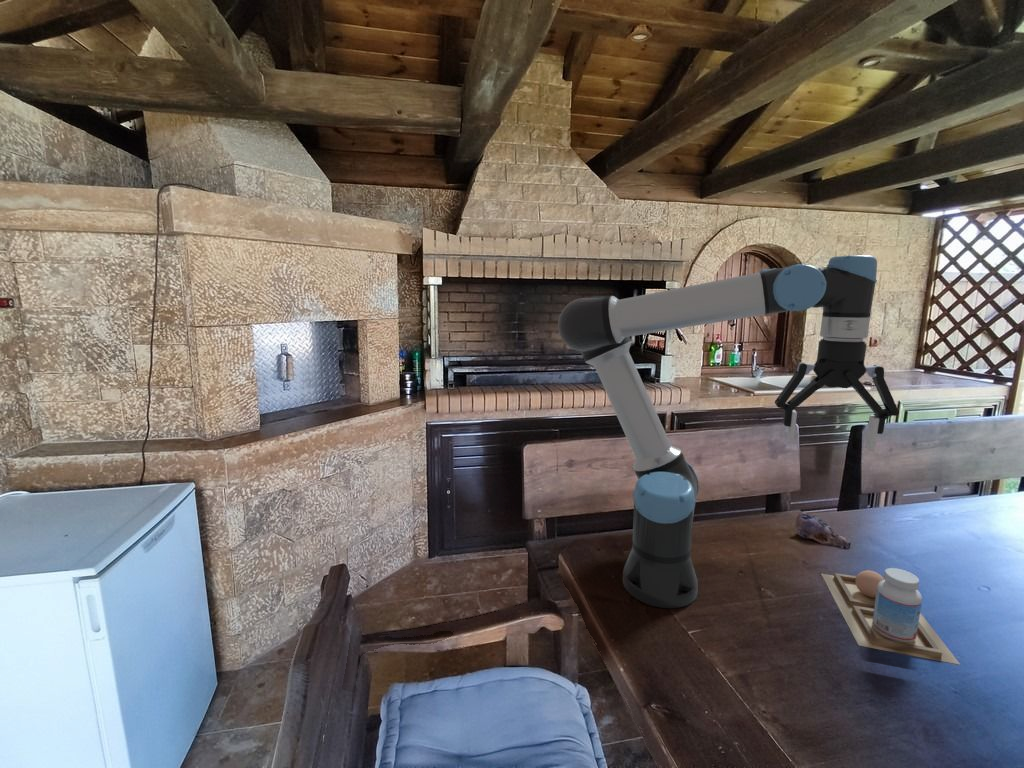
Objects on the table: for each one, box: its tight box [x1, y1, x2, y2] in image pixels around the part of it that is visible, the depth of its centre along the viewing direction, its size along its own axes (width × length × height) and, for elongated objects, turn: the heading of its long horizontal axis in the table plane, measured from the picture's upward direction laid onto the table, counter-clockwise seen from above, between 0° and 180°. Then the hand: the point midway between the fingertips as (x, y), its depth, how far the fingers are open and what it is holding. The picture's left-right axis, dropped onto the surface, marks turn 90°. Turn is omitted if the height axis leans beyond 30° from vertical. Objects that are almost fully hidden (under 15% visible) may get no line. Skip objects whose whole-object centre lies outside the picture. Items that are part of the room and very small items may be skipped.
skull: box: [793, 512, 852, 549], centre depth 115 cm, size 12×8×6 cm, turn 31°
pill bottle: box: [872, 567, 923, 643], centre depth 82 cm, size 6×6×11 cm
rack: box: [820, 572, 961, 666], centre depth 88 cm, size 14×22×2 cm, turn 161°
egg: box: [855, 569, 885, 598], centre depth 93 cm, size 5×5×5 cm
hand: (828, 445), depth 93 cm, fingers open, 13 cm apart
